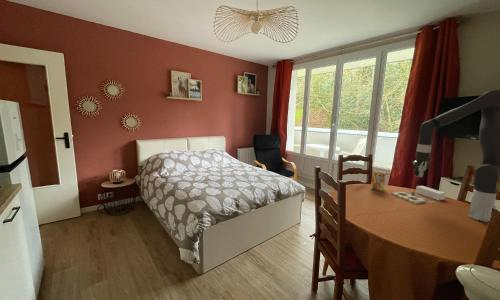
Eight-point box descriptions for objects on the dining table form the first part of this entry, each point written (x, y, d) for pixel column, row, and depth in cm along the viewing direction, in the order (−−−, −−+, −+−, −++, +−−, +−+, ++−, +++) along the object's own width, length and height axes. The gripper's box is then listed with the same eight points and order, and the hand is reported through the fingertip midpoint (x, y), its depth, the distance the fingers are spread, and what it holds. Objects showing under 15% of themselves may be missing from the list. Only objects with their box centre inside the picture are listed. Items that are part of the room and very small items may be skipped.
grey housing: (443, 200, 156) (445, 192, 155) (437, 201, 154) (438, 193, 153) (421, 192, 171) (422, 185, 170) (415, 193, 169) (416, 186, 168)
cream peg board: (425, 203, 150) (426, 200, 149) (414, 205, 147) (415, 201, 147) (401, 194, 167) (401, 191, 166) (391, 195, 164) (391, 192, 164)
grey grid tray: (436, 203, 151) (436, 197, 150) (428, 204, 149) (429, 198, 148) (408, 193, 170) (409, 188, 169) (401, 193, 168) (402, 189, 167)
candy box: (384, 190, 175) (386, 172, 172) (382, 191, 172) (384, 173, 169) (372, 187, 181) (374, 170, 179) (370, 189, 178) (372, 171, 176)
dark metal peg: (423, 177, 147) (426, 165, 145) (419, 177, 146) (421, 166, 144) (418, 175, 151) (420, 164, 149) (413, 175, 150) (415, 164, 148)
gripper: (421, 152, 140) (416, 177, 143) (437, 151, 143) (432, 176, 147) (409, 150, 147) (405, 174, 150) (425, 149, 150) (421, 173, 154)
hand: (419, 175), depth 148 cm, fingers closed on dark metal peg, 4 cm apart
